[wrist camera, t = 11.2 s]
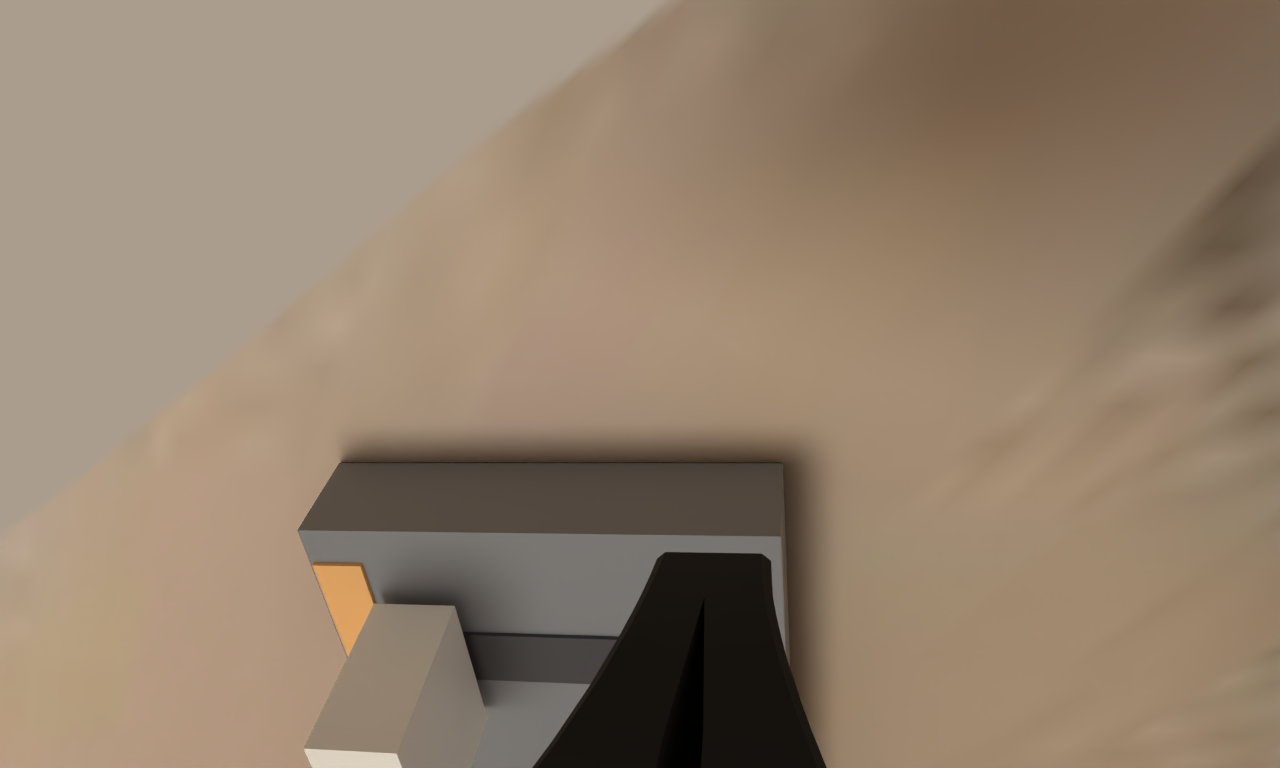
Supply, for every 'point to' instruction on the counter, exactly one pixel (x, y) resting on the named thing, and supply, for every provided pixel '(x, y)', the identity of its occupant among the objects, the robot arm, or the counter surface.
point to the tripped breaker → (402, 696)
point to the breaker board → (532, 564)
